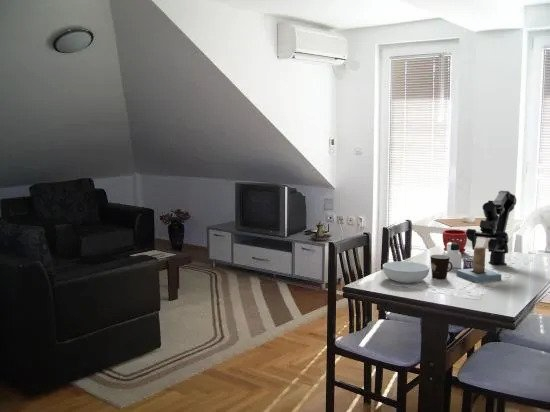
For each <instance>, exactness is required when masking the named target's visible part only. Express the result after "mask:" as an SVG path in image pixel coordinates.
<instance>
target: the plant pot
mask: <svg viewBox="0 0 550 412" xmlns="http://www.w3.org/2000/svg"><path fill="white" fill-rule="evenodd" d="M466 231H467V230H461V229H446V230H443V231H442V244H443V246H444V247H443V251H447V243H449V242H455V243H458V244H459V252H460V253H461V254H463V253H465V252H466V248H465V247H466V246H467V240H468V238H467V235H466Z"/></svg>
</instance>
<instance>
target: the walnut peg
mask: <svg viewBox="0 0 550 412" xmlns="http://www.w3.org/2000/svg"><path fill="white" fill-rule="evenodd" d="M486 249H487V248H486V247H483V246H475V247H474V250H473V265H472V268H473V273H476V274H483V273H484V272H485V269H486V268H485V267H486Z"/></svg>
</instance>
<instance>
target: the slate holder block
mask: <svg viewBox="0 0 550 412" xmlns="http://www.w3.org/2000/svg"><path fill="white" fill-rule="evenodd" d="M456 276H458V277H461V278H462V279H465V280H469V281H471V282H473V283H481V282H482V281H484V282H491V281H499V280H500V281H502V273H498V272H496V271H493V270H489V269H487V268H485V272H484V273H483V274H476V273H473V267H472V268H464V269H456Z"/></svg>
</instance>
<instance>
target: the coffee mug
mask: <svg viewBox="0 0 550 412" xmlns="http://www.w3.org/2000/svg"><path fill="white" fill-rule="evenodd" d="M449 258H450V257H449V256H446V255H444V254H430V266H431V267H430V269H431V278H432V279H434V280H446V279H447V277H448V276H447V275H448V273H449V272H451V271H452V269H453V268H452V263H451V262H449ZM449 263H450V264H451V268H450V269H449V268H448V265H449Z"/></svg>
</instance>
